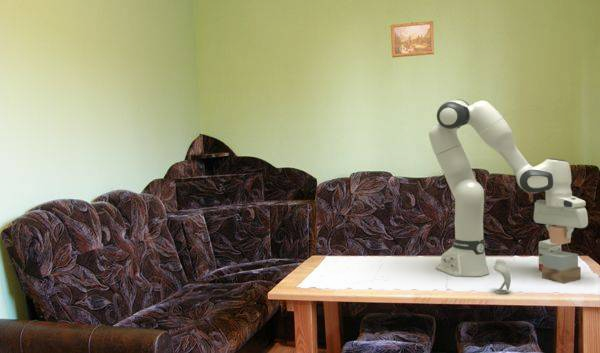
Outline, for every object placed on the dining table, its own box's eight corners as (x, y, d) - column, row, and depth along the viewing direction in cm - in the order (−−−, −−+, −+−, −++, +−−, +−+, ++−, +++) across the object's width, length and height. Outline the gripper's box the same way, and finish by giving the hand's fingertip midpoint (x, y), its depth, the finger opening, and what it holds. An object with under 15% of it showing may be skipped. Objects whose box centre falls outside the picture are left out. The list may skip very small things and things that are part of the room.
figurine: (512, 295, 168) (511, 261, 168) (496, 295, 170) (495, 261, 169) (509, 289, 176) (508, 256, 175) (493, 288, 177) (492, 256, 176)
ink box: (549, 272, 195) (548, 243, 194) (538, 270, 199) (537, 241, 198) (562, 268, 199) (561, 240, 198) (551, 266, 203) (550, 238, 203)
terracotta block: (550, 242, 185) (549, 226, 185) (558, 240, 188) (558, 225, 187) (562, 244, 181) (561, 228, 181) (570, 242, 183) (570, 226, 183)
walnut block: (541, 279, 187) (541, 266, 187) (558, 275, 191) (558, 262, 191) (563, 284, 179) (563, 271, 179) (580, 280, 183) (580, 267, 183)
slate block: (543, 266, 187) (542, 253, 186) (558, 263, 190) (558, 250, 190) (561, 270, 179) (561, 257, 179) (578, 267, 183) (577, 254, 183)
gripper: (529, 199, 191) (530, 234, 192) (578, 203, 173) (580, 241, 174) (540, 198, 194) (541, 232, 195) (590, 201, 176) (591, 239, 177)
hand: (560, 237), depth 184 cm, fingers closed on terracotta block, 5 cm apart
